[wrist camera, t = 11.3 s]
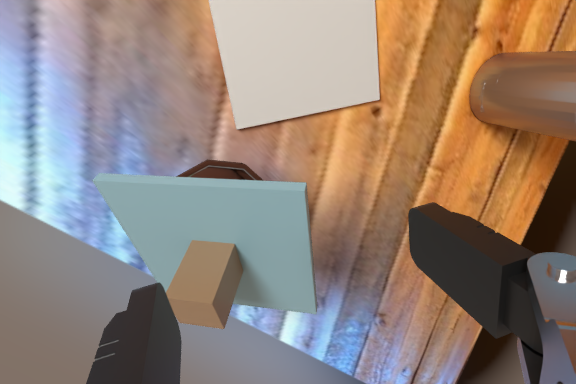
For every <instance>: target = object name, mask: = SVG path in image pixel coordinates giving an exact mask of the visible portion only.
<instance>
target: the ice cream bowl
mask: <svg viewBox="0 0 576 384" xmlns="http://www.w3.org/2000/svg"><path fill="white" fill-rule="evenodd" d="M176 177H192V178H214V179H236V180H258V181H263V180H262V179H261V178H260V177H259V176H258V175H257V174H256V173H254V172H253V171H252V170H251V169H250V168H249V167H248V166H247V165H245V164H243V163H236V162H227V161H217V160H206V161H204V162H202V163H200V164H198V165H197V166H195V167H193V168H191V169H189V170H187V171H186V172H184V173H182V174H180V175H178V176H176Z"/></svg>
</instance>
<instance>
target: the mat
mask: <svg viewBox="0 0 576 384" xmlns="http://www.w3.org/2000/svg"><path fill="white" fill-rule="evenodd" d="M209 5H210V10H211V14H212V19H213V23H214V28H215V33H216V37H217V42H218V46H219V51H220V56H221V60H222V65H223V70H224V74H225V79H226V83H227V88H228V93H229V97H230V102H231V107H232V111H233V116H234V120H235V125H236V129H242V128H247V127H252V126H256V125H261V124H266V123H271V122H275V121H280V120H285V119H290V118H294V117H299V116H304V115H309V114H314V113H318V112H323V111H328V110H333V109H337V108H342V107H347V106H352V105H357V104H361V103H366V102H371V101H376V100H380V94H379V73H378V53H377V32H376V12H375V0H209Z"/></svg>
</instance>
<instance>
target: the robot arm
mask: <svg viewBox="0 0 576 384" xmlns="http://www.w3.org/2000/svg"><path fill="white" fill-rule="evenodd" d="M470 105H471V109H472V111H473V113H474V115H475V116H476V117H477V118H478V119H479V120H481V121H483V122H486V123H490V124H495V125H500V126H505V127H509V128H514V129H519V130H524V131H529V132H533V133H538V134H543V135H548V136H553V137H558V138H563V139H567V140H573V141H576V51H557V52H515V53H501V54H497V55H495V56H493V57H491V58H490V59H489V60H487V61H486V62H485V63H484V64H483V65H482V66H481V67H480V69H479V70H478V72H477V73H476V75H475V77H474V79H473V82H472V85H471V89H470ZM409 241H410V253H411V256H412V259H413V261H414V262H415V264H416V265H417V267H418V268H419V269H421V270H422V271H423V272H424V273H425V274H426V275H427V276H428V277H429V278H430V279H431V280H433V281H434V282H435V283H436V284H437V285H438V286H439V287H440V288H441V289H442V290H443V291H444V292H446V293H447V294H448V295H449V296H450V297H451V298H452V299H453V300H454V301H455V302H456V303H458V304H459V305H460V306H461V307H462V308H463V309H464V310H465V311H466V312H467V313H468V314H470V315H471V316H472V317H473V318H474V319H475V320H476V321H477V322H478V323H479V324H480V325H482V326H483V327H484V328H485V329H486V330H487V331H488V332H489V333H490V334H491V335H492V336H494V337H495V338H499V337H502V336H504V335H507V334H509V333H512V332H513V333H514V334H515V335H516V336H518V342H517V347H518V352H519V357H520V362H521V367H522V371H523V376H524V381H525V384H576V257H575V256H572V255H568V254H562V253H551V252H548V253H540V254H535V253H533V252H531V251H529V250H528V249H526V248H524V247H522V246H521V245H519V244H517V243H515V242H514V241H512V240H510V239H508V238H507V237H505V236H503V235H501V234H500V233H498V232H497V233H495V231H494V230H492V229H491V228H489V227H487V226H484V225H483V224H482V223H480V222H478V221H476V220H475V219H473V218H471V217H469V216H465V215H462V214H458V213H455V212H450V211H448V210H447V209H445V208H443V207H442V206H440V205H438V204H436V203H434V202H432V203H428V204H425V205H422V206H418V207H415V208H412V209H410V211H409ZM180 362H181V335H180V330H179V326H178V322H177V320H176V317H175V315H174V312H173V310H172V307H171V305H170V302H169V300H168V297H167V295H166V292H165V290H164V288H163V286H162V284H161V283H160V282H159V283H155V284H152V285H148V286H145V287H142V288H139V289H135V290H133V291H132V293H131V296H130V300H129V303H128V307H127V310H126V311H123V312H120V313H117V314H116V315H115V316H114V317H113V319H112V320H111V321H110V322H109V324H108V325H107V326H106V328H105V329H104V331H103V335H102V338H101V341H100V344H99V348H98V350H97V353H96V356H95V362H93V365H92V368H91V371H90V374H89V377H88V380H87V383H86V384H180V364H181V363H180Z"/></svg>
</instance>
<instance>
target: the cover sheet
mask: <svg viewBox="0 0 576 384" xmlns="http://www.w3.org/2000/svg"><path fill="white" fill-rule="evenodd" d="M92 181H93V182H94V184H95V185H96V187H97V189H98V190H99V192H100V193H101V195H102V196H103V198H104V200H105V201H106V203H107V204H108V206H109V207H110V209H111V211H112V212H113V214H114V215H115V217H116V218H117V220H118V222H119V223H120V225H121V226H122V228H123V229H124V231H125V232H126V234H127V236H128V237H129V239H130V240H131V242H132V243H133V245H134V247H135V248H136V250H137V251H138V253H139V254H140V256H141V258H142V259H143V261H144V262H145V264H146V265H147V267H148V269H149V270H150V272H151V273H152V275H153V276H154V278H155V280H156V281H157V283H159V282H160V283H161V284H162V286H163V288H164V290H165V292H166V295H167V297H168V300H169V302H170V305H171V307H172V310H173V312H174V315H175V316H176V318H177V319H178V321H179V322H180V323H186V324H192V325H200V326H206V327H213V328H221V329H224V328H225V325H226V322H227V319H228V316H229V313H230V310H231V307H232V304H239V305H247V306H255V307H263V308H271V309H279V310H287V311H295V312H303V313H311V314H316V312H317V297H316V285H315V274H314V263H313V251H312V240H311V229H310V217H309V206H308V195H307V183H302V182H280V181H258V180H236V179H214V178H192V177H169V176H147V175H125V174H103V173H99V174H98V175H97V176H96V177H95V178H94V179H93V180H92Z"/></svg>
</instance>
